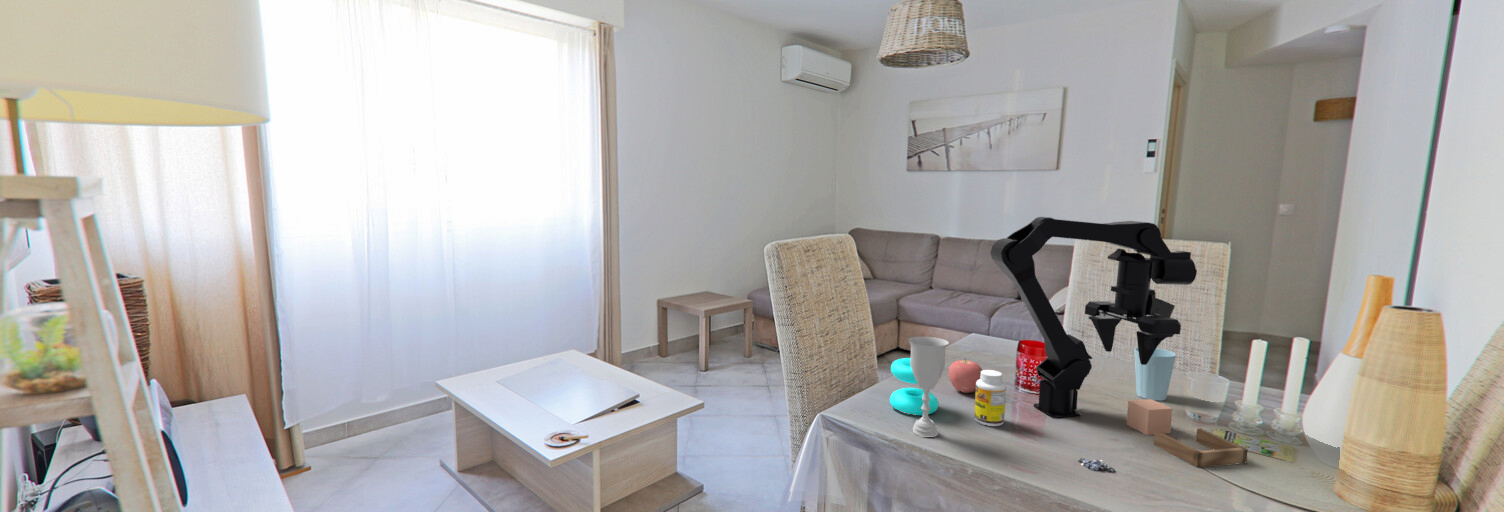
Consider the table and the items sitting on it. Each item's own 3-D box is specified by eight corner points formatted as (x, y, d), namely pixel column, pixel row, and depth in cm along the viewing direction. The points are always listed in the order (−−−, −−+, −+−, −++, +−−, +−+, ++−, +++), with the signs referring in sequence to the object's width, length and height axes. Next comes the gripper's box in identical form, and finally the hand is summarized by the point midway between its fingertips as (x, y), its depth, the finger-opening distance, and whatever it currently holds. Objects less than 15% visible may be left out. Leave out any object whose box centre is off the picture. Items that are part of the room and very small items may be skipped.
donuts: (881, 361, 123) (910, 353, 129) (879, 406, 124) (909, 396, 130) (920, 373, 115) (949, 364, 121) (918, 421, 116) (947, 410, 122)
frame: (1196, 467, 97) (1198, 453, 97) (1153, 444, 106) (1154, 431, 106) (1246, 463, 99) (1247, 449, 98) (1199, 441, 107) (1200, 428, 107)
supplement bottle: (969, 416, 119) (971, 368, 118) (996, 416, 119) (998, 368, 118) (981, 427, 113) (983, 377, 112) (1009, 427, 114) (1011, 376, 112)
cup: (1141, 388, 136) (1145, 345, 134) (1178, 398, 129) (1183, 353, 128) (1123, 394, 132) (1127, 349, 131) (1161, 405, 125) (1165, 358, 124)
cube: (1146, 435, 110) (1149, 410, 110) (1126, 424, 115) (1128, 400, 115) (1170, 433, 111) (1172, 408, 110) (1148, 423, 116) (1150, 399, 115)
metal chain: (1075, 457, 103) (1075, 446, 103) (1128, 467, 98) (1128, 456, 98) (1067, 471, 98) (1066, 461, 98) (1123, 483, 93) (1122, 471, 92)
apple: (948, 395, 131) (949, 361, 130) (947, 384, 138) (948, 352, 137) (983, 398, 129) (985, 364, 128) (980, 388, 136) (982, 354, 135)
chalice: (945, 428, 113) (948, 338, 111) (944, 442, 107) (948, 347, 105) (906, 423, 115) (909, 335, 113) (903, 436, 109) (906, 344, 107)
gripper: (1210, 291, 110) (1200, 371, 112) (1131, 276, 128) (1124, 344, 130) (1158, 291, 108) (1150, 372, 110) (1086, 276, 126) (1079, 345, 128)
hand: (1125, 357), depth 119 cm, fingers open, 9 cm apart
